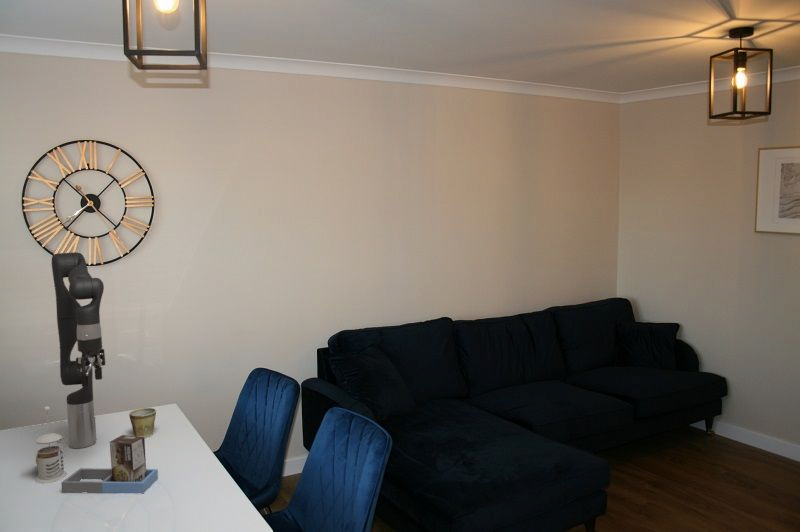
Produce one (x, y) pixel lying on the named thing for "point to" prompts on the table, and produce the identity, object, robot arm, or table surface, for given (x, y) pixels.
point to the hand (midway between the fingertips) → (92, 382)
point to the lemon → (42, 457)
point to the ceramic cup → (143, 421)
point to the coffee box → (128, 459)
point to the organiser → (105, 482)
